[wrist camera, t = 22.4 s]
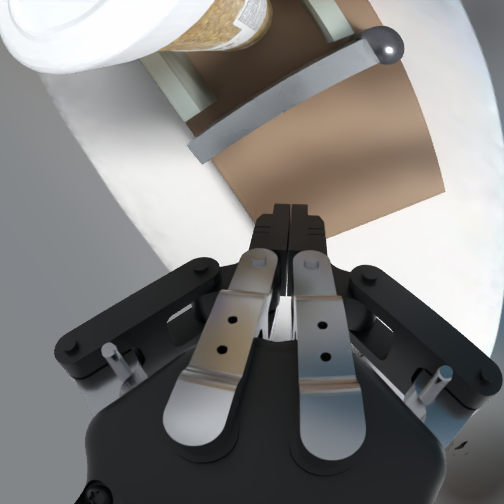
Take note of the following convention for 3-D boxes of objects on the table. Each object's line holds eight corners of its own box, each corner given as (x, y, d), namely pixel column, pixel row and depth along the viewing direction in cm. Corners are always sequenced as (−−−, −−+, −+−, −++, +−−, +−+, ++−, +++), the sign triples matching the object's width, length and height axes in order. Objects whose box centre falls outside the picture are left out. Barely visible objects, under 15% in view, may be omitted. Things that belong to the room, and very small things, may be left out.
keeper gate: (369, 26, 12) (390, 19, 8) (386, 54, 12) (411, 56, 9) (206, 120, 16) (182, 140, 13) (224, 144, 17) (206, 169, 14)
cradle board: (440, 185, 18) (466, 219, 14) (278, 249, 23) (273, 291, 19) (299, -82, 8) (299, -113, 5) (121, 23, 14) (79, 23, 10)
